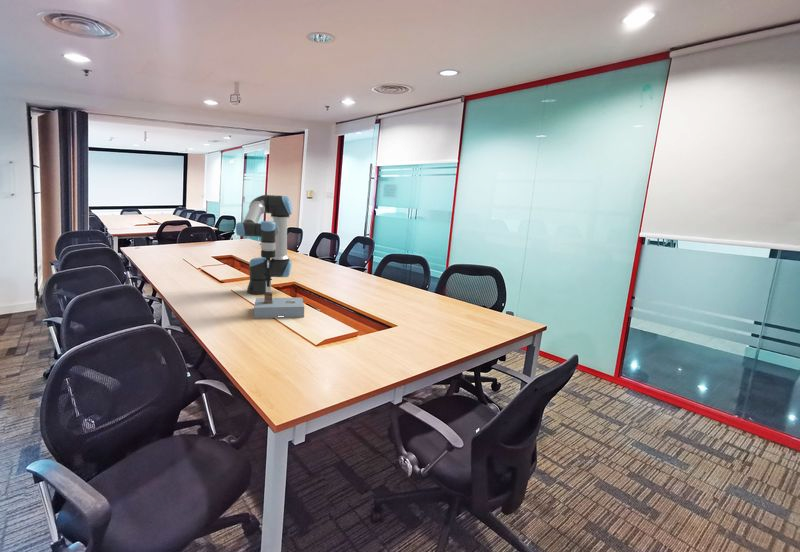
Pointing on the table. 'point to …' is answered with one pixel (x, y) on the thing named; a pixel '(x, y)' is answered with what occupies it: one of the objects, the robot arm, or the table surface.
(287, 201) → the robot arm
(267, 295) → the dark peg
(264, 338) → the table surface
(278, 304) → the socket block
